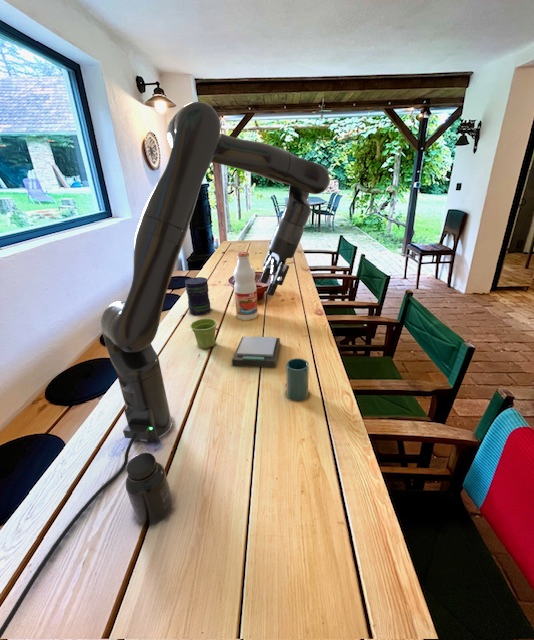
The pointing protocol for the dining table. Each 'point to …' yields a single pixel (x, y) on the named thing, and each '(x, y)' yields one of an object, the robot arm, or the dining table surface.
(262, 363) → the scale
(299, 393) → the tumbler
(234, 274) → the fruit juice
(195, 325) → the plant pot
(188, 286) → the storage jar
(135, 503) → the supplement bottle
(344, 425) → the dining table surface
